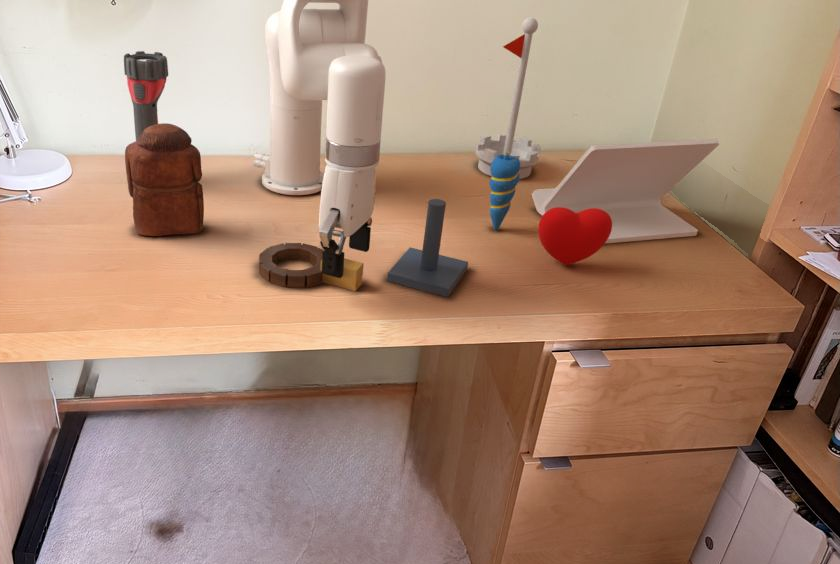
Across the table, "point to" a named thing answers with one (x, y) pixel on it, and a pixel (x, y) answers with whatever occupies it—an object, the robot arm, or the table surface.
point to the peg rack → (429, 259)
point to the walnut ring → (305, 276)
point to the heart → (574, 233)
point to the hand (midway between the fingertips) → (346, 262)
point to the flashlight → (145, 86)
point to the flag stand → (513, 116)
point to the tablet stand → (629, 186)
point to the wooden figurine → (165, 182)
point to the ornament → (502, 186)
